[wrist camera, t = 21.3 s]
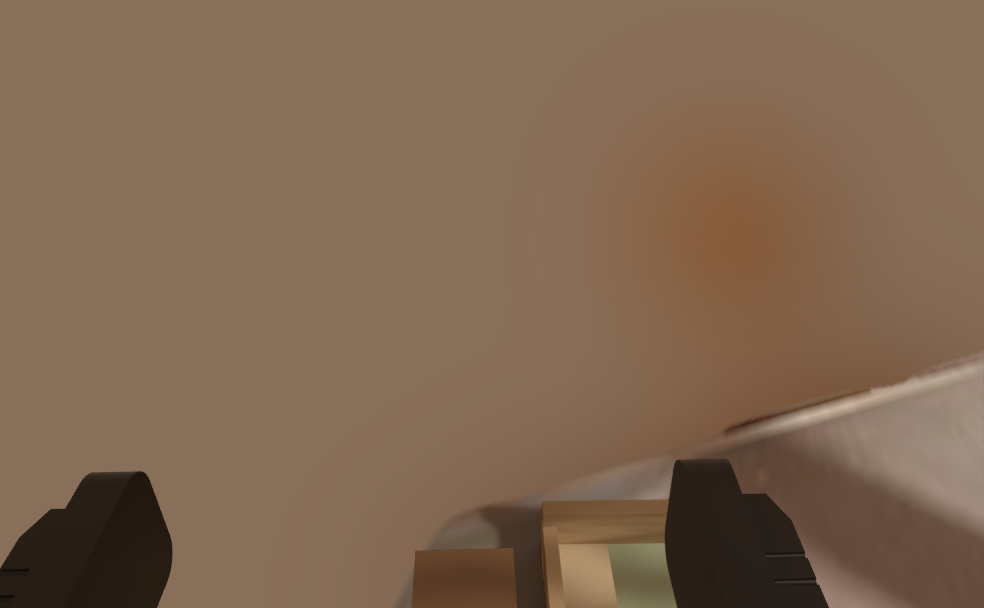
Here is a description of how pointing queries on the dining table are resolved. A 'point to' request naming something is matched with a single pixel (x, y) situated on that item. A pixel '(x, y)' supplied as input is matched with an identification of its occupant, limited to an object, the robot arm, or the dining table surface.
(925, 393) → the dining table surface
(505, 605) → the walnut block
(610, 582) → the tray
